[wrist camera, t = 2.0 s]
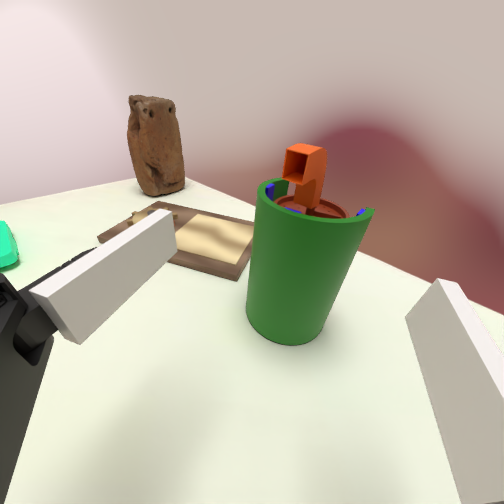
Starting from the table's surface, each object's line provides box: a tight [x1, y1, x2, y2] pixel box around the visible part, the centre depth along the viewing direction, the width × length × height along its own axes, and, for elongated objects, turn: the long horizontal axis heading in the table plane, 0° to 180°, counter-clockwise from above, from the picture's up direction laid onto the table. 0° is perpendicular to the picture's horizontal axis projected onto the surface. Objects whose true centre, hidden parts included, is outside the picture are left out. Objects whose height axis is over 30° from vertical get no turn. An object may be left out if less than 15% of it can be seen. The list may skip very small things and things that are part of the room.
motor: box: [246, 143, 375, 345], centre depth 22 cm, size 10×9×20 cm
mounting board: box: [97, 201, 254, 282], centre depth 40 cm, size 16×25×3 cm, turn 72°
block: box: [127, 95, 185, 196], centre depth 51 cm, size 11×8×20 cm
